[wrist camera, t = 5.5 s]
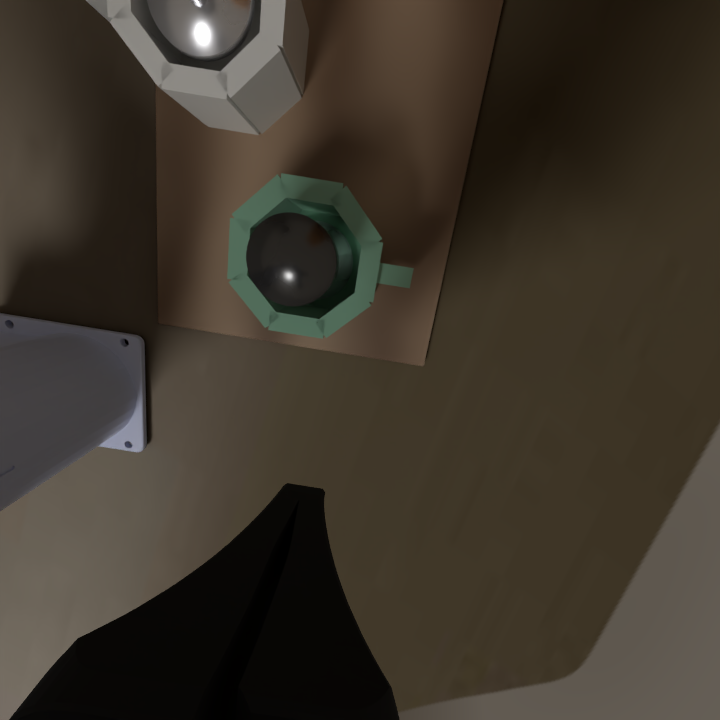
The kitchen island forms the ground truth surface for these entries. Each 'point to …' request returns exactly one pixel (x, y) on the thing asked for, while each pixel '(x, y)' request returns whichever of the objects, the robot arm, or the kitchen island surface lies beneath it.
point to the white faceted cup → (224, 64)
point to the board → (337, 165)
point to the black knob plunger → (298, 259)
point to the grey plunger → (204, 25)
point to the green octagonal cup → (320, 205)
